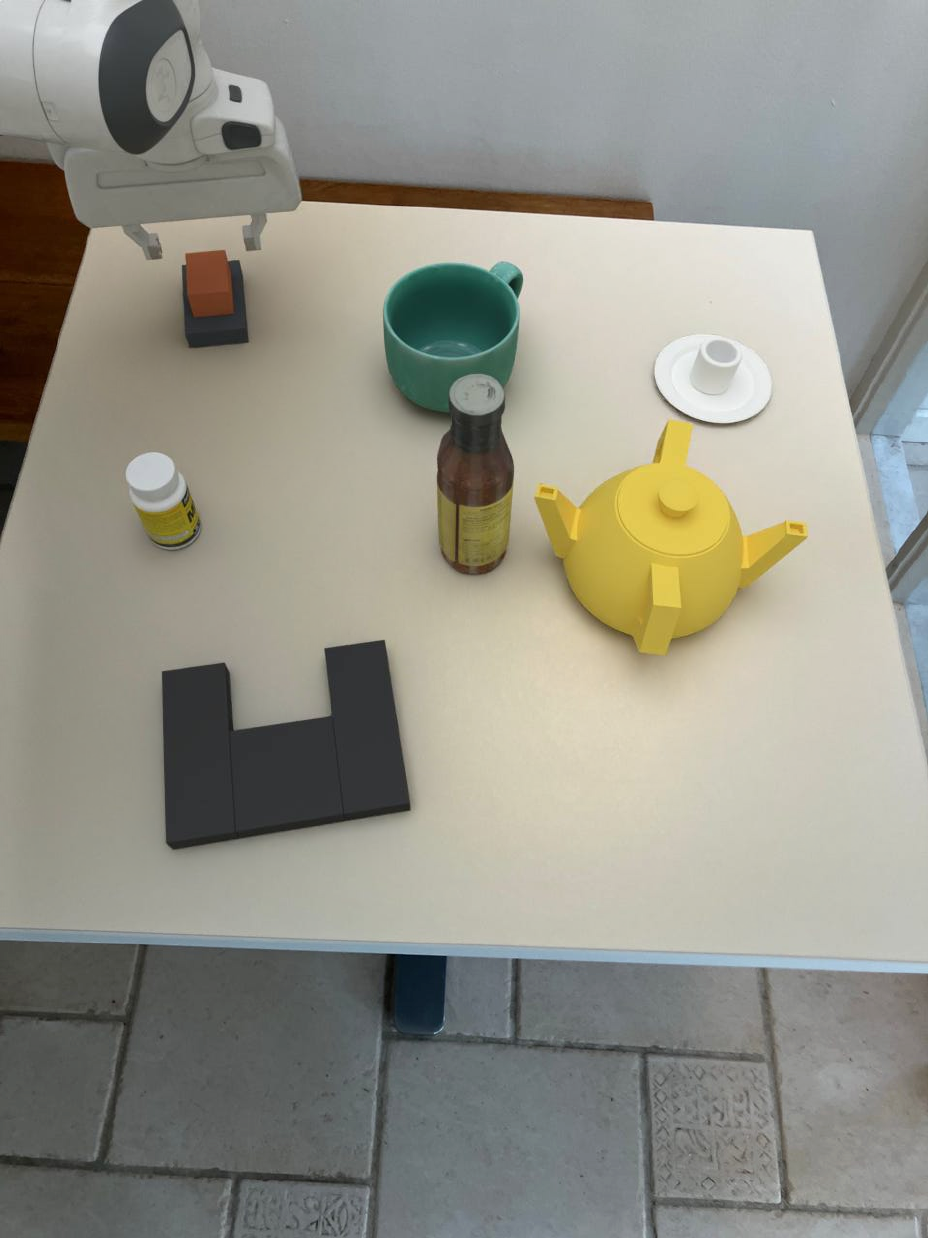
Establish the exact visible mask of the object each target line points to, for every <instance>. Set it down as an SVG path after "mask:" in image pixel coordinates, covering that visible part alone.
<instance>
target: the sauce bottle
mask: <svg viewBox="0 0 928 1238" xmlns="http://www.w3.org/2000/svg"><path fill="white" fill-rule="evenodd" d="M448 402H449V403H448V405H449V410H450V414H451V419H450V420H451V423H450V429H448V430H447V431H446V432H445V433H444V434H443V436H442V438H441V439H440V444H439V447H438V450H437V455H436V465H437V466H436V467H437V470H436V503H437V529H438V543H439V546H440V551H441V555H442V556H443V558H444V560H445V561H446V562H447V563H448V564H449V565H450V566H451V567H453V568H454V569H455V570H456V571H458V572H461V573H464V574H471V575H472V574H484V573H487V572H490V571H491V570H494V569H495V568H496V567H497V566H498V565H499V564H500V563H501V562H502V560H504V558H505V555H506V553H507V547H508V545H509V542H510V531H511V518H512V508H513V507H512V506H513V493H514V482H515V481H514V480H515V462H514V458H513V455H512V452H511V451H510V448H509V446H508V442H507V441H506V438H505V434H504V432H503V429H502V423H503V421H502V417H503V414H504V413H505V410H506V393H505V390H504V387H503V388H502V386H501V385H500V383H499V382H498V381H497V380H495V379H494V378H493V377H491V376H488V375H484V374H470V375H467V376H463V377H461V378H459V379H458V380H456V381H455V382H454V383H453V384H452V386H451V388H450V391H449V400H448Z"/></svg>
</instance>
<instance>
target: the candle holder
mask: <svg viewBox="0 0 928 1238" xmlns="http://www.w3.org/2000/svg"><path fill="white" fill-rule="evenodd" d="M653 372H654V374H653V375H654V380H655V383H656V386H657V388H658V390H659V391H660V393H661V394H662V396H663V398H665V400H666V401H667V402H668V403H669V404H671V406H673V407H674V408H675V409H677V410H679V411H680V412H681V413H683V414H685V415H687V416H688V417H691V418H694V419H697V420H700V421H703V422H708V423H714V424H715V423H716V424H731V423H732V424H733V423H739V422H741V421H745V420H747V419H750V418H752V417H754V416H756V415H757V414H758V413H760V412H761V411H762V410H763V409H764V408H765V407H766V406H767V404H768V402H769V401H770V398H771V396H772V391H773V380H772V375H771V372H770V369H769V366H768V365H767V364H766V362H764V360H763V359H762V357H760V356H759V354H758V353H757V352H756V351H755V350H753V349H751V348H750V347H748V346H746V345H745V344H743V343H741V342H739V341H737V340H734V339H732V338H729V337H726V336H723V335H718V334H711V333H710V334H709V333H696V334H690V335H686V336H682V337H679V338H677V339H675V340H673V341H671V342H670V343H668V344H667V345H666V346H665V347H663V348H662V350H661V351H660V352H659V354H658V355H657V357H656V360H655V362H654V370H653Z"/></svg>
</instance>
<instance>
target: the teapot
mask: <svg viewBox="0 0 928 1238" xmlns="http://www.w3.org/2000/svg"><path fill="white" fill-rule="evenodd" d="M693 427H694V423H690V422H685V421H680V420H676V419H672V418H668V420H667V422H666V424H665V426H664V428H663V430H662V431H661V433H660V434H661V435H660V436H659V438H658V440H657V442H656V443H657V444H656V448H655V450H654V451H655V452H654V455H653V459H652V463H647V464H643V465H639V466H637V467H633V468H630V469H628V470H625V471H622V472H620V473H618V474H616V475H614V476H612V477H610V478H608V479H607V480H606V481H604V482H602V483H601V484H600V485H599V486H597V487H596V488H595V489H594V490H593V491H592V492H590V493H589V495H587V497H586V498H585V499H584V501H583V502H582V503H581V504H580V505H579V507H577V506H576V505H575V504H574V503H573V502H572V501H571V500H570V499H569V498H568V497H567V496H566V495H565V494H563V492H561V490H560V489H559V488H560V487H558V486H553V485H548V484H545V483H544V484H543V483H537V485H536V489H535V493H534V502H535V504H536V506H537V507H536V508H537V509H538V512H539V515H540V517H541V520H542V522H543V525H544V529H545V530H546V533H547V537H548V538H549V541H550V545H551V547H552V549H553V552H554V555H555V557H558V558H560V559H562V564H563V569H564V572H565V576H566V579H567V581H568V584H569V586H570V588H571V590H572V591H573V593H574V595H575V597H576V598H577V600H578V601H579V602H580V603H581V605H582V606H583V607H584V608H585V609H586V610H587V611H588V612H589V613H590V614H591V615H593V616H594V617H595V618H596V619H597V620H599V621H600V622H602V623H603V624H605V625H606V626H608V627H610V628H612V629H613V630H616V631H618V632H621V633H624V634H625V635H630V636H632V638H633V640H634V643H635V645H636V648H637V650H638V653H639V654H647V655H648V654H649V655H655V656H656V655H657V656H667V653H668V650H669V646H670V643H671V641H672V640H673V639H679V638H684V637H687V636H690V635H693V634H695V633H698V632H700V631H703V630H704V629H706V628H708V627H709V626H711V625H713V624H714V623H715V622H716V621H718V620H719V619H720V618H721V617H722V616H723V615H724V614H725V613H726V611H727V610H728V608H729V607H730V605H731V604H732V602H733V600H734V599H735V596H736V595H737V592H738V590H739V589H747V588H748V587H749V586H750V585H752V584H754V582H756V581H757V580H758V579H759V578H761V577H762V576H763V575H764V574H765V573H767V572H768V571H769V570H770V569H771V568H773V567H774V566H775V565H776V564H777V563H780V561H781V560H783V558H785V557H786V556H788V555H789V554H790V553H791V552H792V551H793V550H794V549H796V548H797V547H798V546H799V545H800V544H802V543H803V542H804V541H805V540H807V538H808V536H809V534H808V525H807V522H803V521H794V520H788V519H785V520H784V521H783V522H780V523H778V524H776V525H773V526H770V527H767V528H765V529H762V530H759V531H756V532H754V533H750V534H748V535H743V534H742V529H741V526H740V523H739V520H738V517H737V515H736V513H735V510H734V508H733V506H732V505H731V503H730V501H729V499H728V497H727V495H725V493H724V491H723V490H722V489H721V488H720V487H719V486H718V485H717V484H716V483H715V482H714V481H713V480H712V479H711V478H710V477H709V476H707V475H706V474H704V473H702V472H701V471H699V470H697V469H694V468H692V467H690V466H687V461H688V456H689V455H688V454H689V449H690V444H691V438H692V433H693Z"/></svg>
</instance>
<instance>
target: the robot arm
mask: <svg viewBox="0 0 928 1238" xmlns="http://www.w3.org/2000/svg"><path fill="white" fill-rule="evenodd" d="M201 15H202V14H201V8H200V4H199V0H0V137H3V136H5V137H11V138H12V137H13V138H17V139H24V140H29V141H36V142H42V143H46V146H47V148H48V150H49V153H50V155H51V158H52V160H53V162H54V164H55V165H56V166H57V167H58V168H59V169H61V170H62V171H64V178H65V183H66V188H67V192H68V196H69V200H70V203H71V206H72V209H73V213H74V216H75V218H76V219H77V221H79V222H80V223H81V224H83V225H84V226H86V227H88V228H90V229H100V228H101V229H103V228H113V227H121V228H122V231H123V234H125V235H126V236H127V237H128V238H129V239H130V240H131V241H133V242H134V243H135V244H136V245H138V246H139V247H140V248H141V250H142V251H143V254H144V257H145V260H146V261H154V260H162V259H163V246H162V243H161V242H160V238H159V237H160V236H159V234H158V233H157V232H155V233H153V232H152V233H150V232H148V231H147V230H146V229H145V228H144V227H143V226H142V225H144V224H145V225H147V224H148V225H149V224H159V223H169V222H170V223H171V222H182V221H183V222H184V221H192V220H204V219H205V220H206V219H217V218H229V217H239V216H250V218H251V221H250V224H247V225H246V224H245V225H242V226H241V229H242V240H243V243H244V248H245V251H246V252H254V251H255V252H257V251H262V243H261V235H262V233H263V230H264V229H265V226H266V224H267V222H268V216H267V214H277V213H289V212H294V211H296V210H297V209H298V207H299V206H300V204H301V203H302V201H303V196H302V189H301V181H300V176H299V171H298V165H297V162H296V157H295V153H294V150H293V147H292V144H291V140H290V137H289V134H288V131H287V129H286V127H285V126H284V124H283V122H282V121H281V120H280V118H279V117H278V116H276V110H275V106H274V105H275V104H274V100H273V97H272V93H271V90H270V87H269V86H268V84H267V82H265V81H263V80H261V79H258V78H255V77H254V78H253V77H250V76H247V75H241V74H237V73H232V72H229V71H226V70H223V69H219V68H216V67H213V66H212V63H211V60H210V57H209V56H208V54H207V52H206V49H205V48H204V45H203V41H202V38H201V37H202V36H201V27H202V26H201V24H202V16H201Z"/></svg>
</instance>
